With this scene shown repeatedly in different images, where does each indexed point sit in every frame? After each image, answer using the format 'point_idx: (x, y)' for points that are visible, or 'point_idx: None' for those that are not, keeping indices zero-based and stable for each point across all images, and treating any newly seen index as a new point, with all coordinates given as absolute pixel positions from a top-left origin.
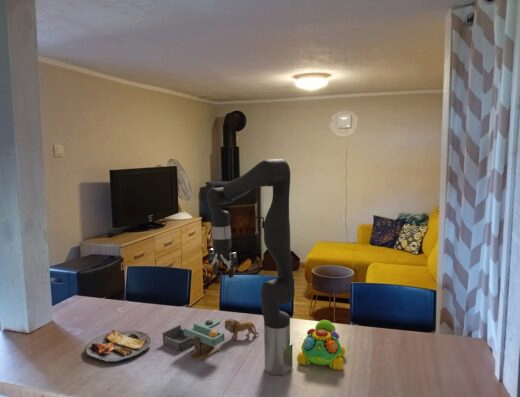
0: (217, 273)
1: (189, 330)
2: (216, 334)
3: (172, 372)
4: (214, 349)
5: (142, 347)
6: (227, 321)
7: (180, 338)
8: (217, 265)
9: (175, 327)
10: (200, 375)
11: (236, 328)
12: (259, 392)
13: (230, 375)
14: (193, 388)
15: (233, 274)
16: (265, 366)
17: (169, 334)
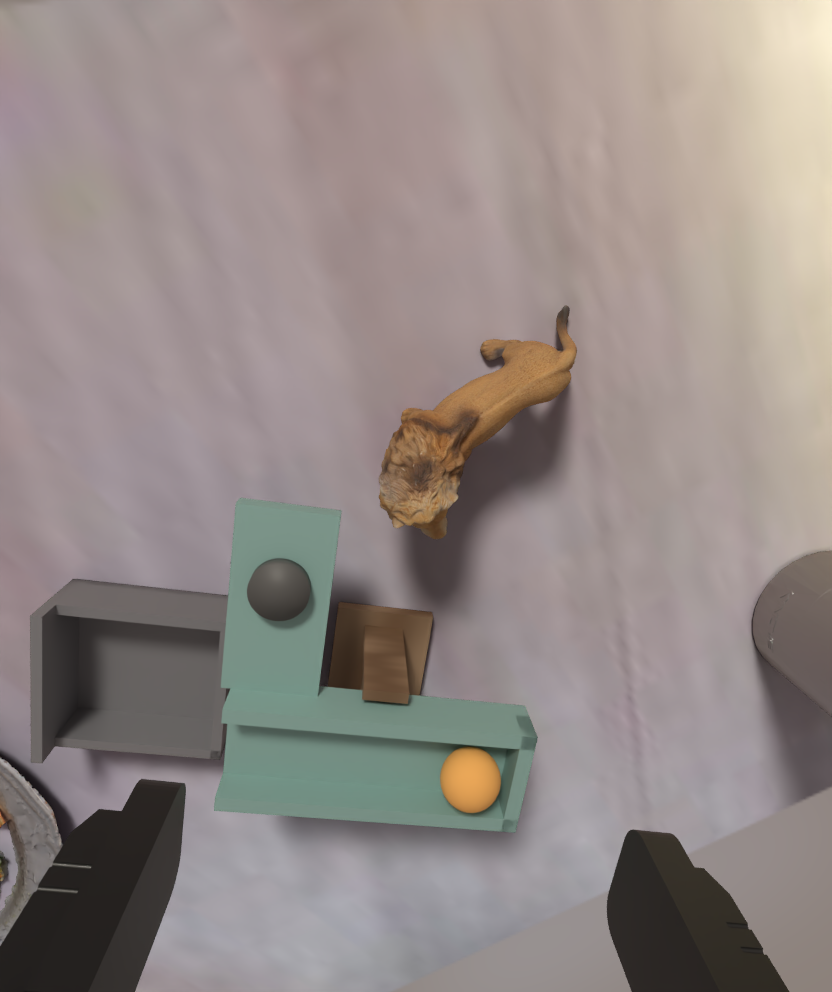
0: (182, 791)
1: (276, 814)
2: (500, 783)
3: (346, 872)
4: (412, 636)
5: (10, 812)
6: (416, 520)
7: (115, 621)
8: (96, 989)
9: (41, 665)
10: (485, 830)
11: (466, 459)
12: (795, 803)
13: (618, 767)
14: (517, 908)
15: (731, 919)
16: (781, 673)
17: (57, 700)
